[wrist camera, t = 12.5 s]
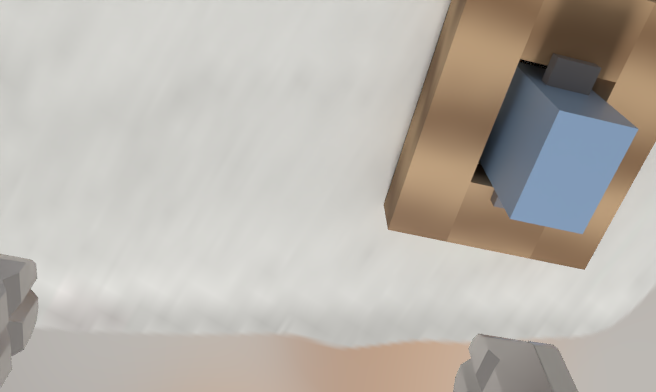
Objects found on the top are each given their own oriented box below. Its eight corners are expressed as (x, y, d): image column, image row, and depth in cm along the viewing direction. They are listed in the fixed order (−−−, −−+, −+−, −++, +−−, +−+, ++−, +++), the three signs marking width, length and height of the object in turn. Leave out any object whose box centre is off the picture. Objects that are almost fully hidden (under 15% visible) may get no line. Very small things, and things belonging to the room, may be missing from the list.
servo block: (521, 34, 34) (573, 79, 27) (586, 51, 34) (654, 99, 27) (466, 173, 38) (498, 243, 31) (525, 185, 38) (570, 257, 31)
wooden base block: (468, -52, 31) (481, -44, 29) (690, 8, 33) (722, 20, 30) (383, 204, 39) (388, 229, 36) (567, 243, 40) (584, 269, 38)
